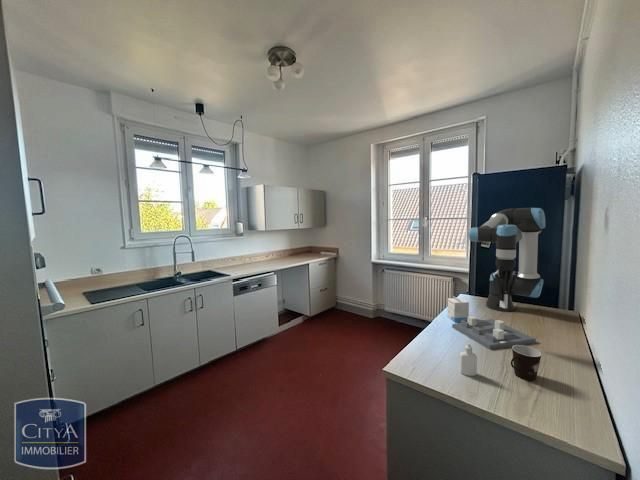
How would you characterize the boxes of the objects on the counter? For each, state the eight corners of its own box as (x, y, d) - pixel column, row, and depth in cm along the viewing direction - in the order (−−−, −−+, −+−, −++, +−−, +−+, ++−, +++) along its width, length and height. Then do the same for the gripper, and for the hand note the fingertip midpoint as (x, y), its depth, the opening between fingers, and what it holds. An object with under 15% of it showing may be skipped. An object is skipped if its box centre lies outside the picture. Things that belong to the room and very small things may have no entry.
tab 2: (499, 327, 135) (499, 320, 134) (504, 329, 132) (504, 322, 131) (494, 328, 134) (494, 320, 134) (499, 330, 131) (499, 322, 131)
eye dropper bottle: (461, 368, 104) (462, 339, 103) (477, 373, 100) (478, 343, 99) (458, 373, 100) (459, 343, 99) (474, 378, 97) (475, 348, 96)
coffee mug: (529, 369, 102) (530, 345, 101) (546, 383, 93) (547, 357, 92) (497, 368, 103) (498, 344, 102) (511, 382, 94) (512, 356, 94)
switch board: (492, 322, 146) (492, 315, 146) (535, 342, 123) (536, 333, 123) (452, 327, 141) (452, 319, 141) (489, 349, 118) (489, 340, 117)
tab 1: (472, 323, 140) (472, 316, 140) (476, 325, 138) (476, 318, 137) (467, 323, 140) (467, 316, 140) (471, 326, 137) (471, 318, 137)
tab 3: (498, 336, 125) (498, 328, 125) (503, 339, 122) (503, 330, 122) (492, 337, 124) (493, 328, 124) (498, 339, 121) (498, 331, 121)
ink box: (469, 322, 148) (469, 299, 147) (454, 322, 148) (454, 299, 147) (461, 316, 156) (461, 294, 155) (447, 316, 156) (447, 295, 155)
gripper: (509, 256, 125) (507, 303, 127) (486, 257, 123) (485, 306, 125) (524, 258, 118) (522, 308, 120) (501, 260, 115) (498, 311, 117)
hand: (503, 307), depth 122 cm, fingers closed
